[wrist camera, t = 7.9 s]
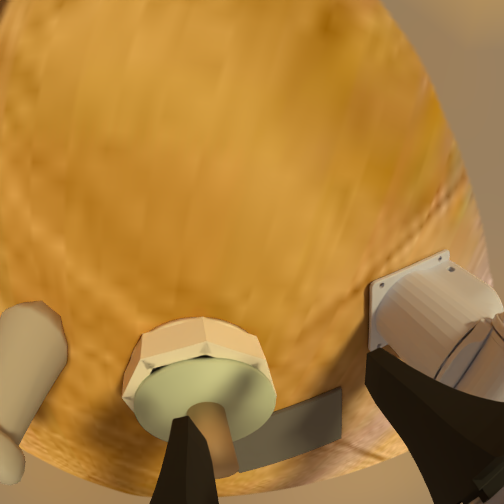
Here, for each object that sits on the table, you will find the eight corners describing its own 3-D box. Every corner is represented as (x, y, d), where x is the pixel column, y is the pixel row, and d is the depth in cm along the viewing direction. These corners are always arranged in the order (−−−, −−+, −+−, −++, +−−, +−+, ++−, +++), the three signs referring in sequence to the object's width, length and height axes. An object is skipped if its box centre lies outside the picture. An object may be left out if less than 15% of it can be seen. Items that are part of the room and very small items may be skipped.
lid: (273, 344, 18) (304, 410, 13) (273, 428, 23) (293, 480, 18) (114, 366, 16) (104, 438, 11) (156, 446, 21) (160, 500, 16)
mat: (340, 386, 27) (341, 389, 27) (340, 435, 32) (341, 438, 32) (209, 430, 26) (209, 433, 25) (239, 470, 31) (239, 473, 30)
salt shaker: (73, 361, 19) (42, 507, 8) (13, 339, 17) (-42, 468, 6) (77, 303, 18) (19, 471, 6) (9, 279, 16) (-81, 414, 4)
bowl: (244, 298, 20) (256, 325, 17) (272, 389, 25) (282, 416, 22) (106, 338, 19) (99, 368, 16) (163, 419, 24) (165, 446, 21)
